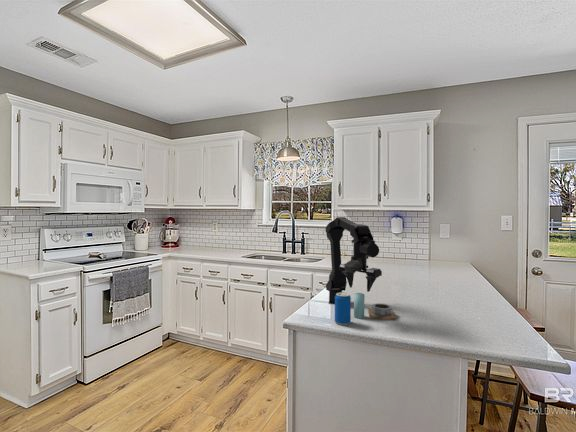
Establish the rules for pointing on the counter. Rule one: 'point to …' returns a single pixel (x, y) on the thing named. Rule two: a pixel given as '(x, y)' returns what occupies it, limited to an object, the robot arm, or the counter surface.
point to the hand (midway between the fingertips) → (359, 289)
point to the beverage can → (342, 308)
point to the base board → (371, 315)
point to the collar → (382, 309)
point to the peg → (359, 305)
